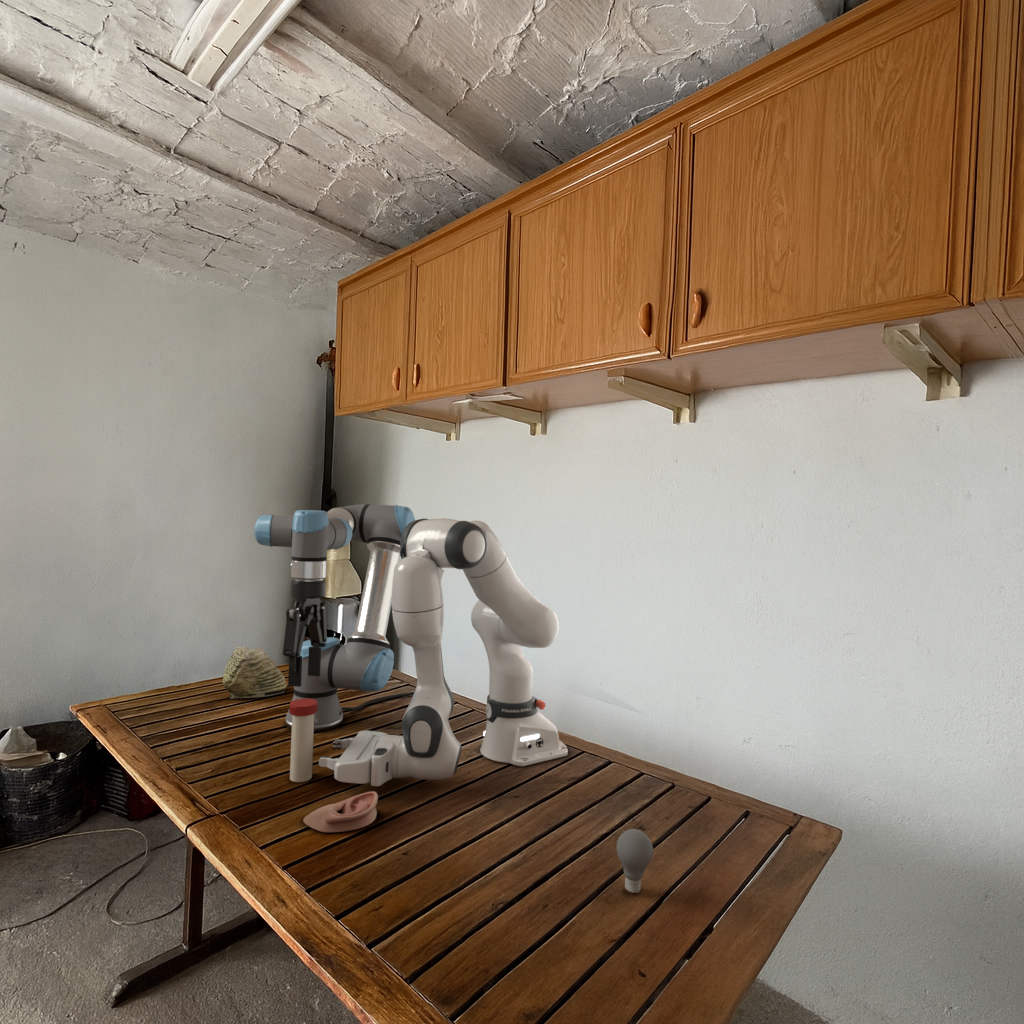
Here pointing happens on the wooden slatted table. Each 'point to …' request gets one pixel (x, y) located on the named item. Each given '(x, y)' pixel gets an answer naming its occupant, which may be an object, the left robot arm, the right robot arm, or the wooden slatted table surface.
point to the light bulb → (634, 857)
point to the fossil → (252, 674)
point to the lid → (303, 707)
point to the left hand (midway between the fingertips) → (304, 680)
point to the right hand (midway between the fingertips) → (326, 752)
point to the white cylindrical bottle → (301, 748)
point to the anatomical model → (344, 814)
